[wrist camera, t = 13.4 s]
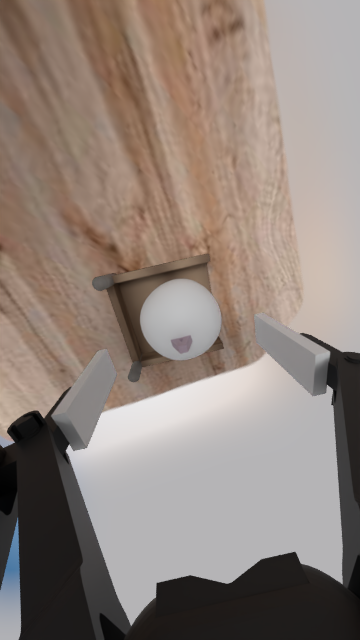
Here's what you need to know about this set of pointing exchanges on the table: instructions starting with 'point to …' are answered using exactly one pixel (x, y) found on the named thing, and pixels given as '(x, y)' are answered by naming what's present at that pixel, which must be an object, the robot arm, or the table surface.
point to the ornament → (180, 319)
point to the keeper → (131, 295)
